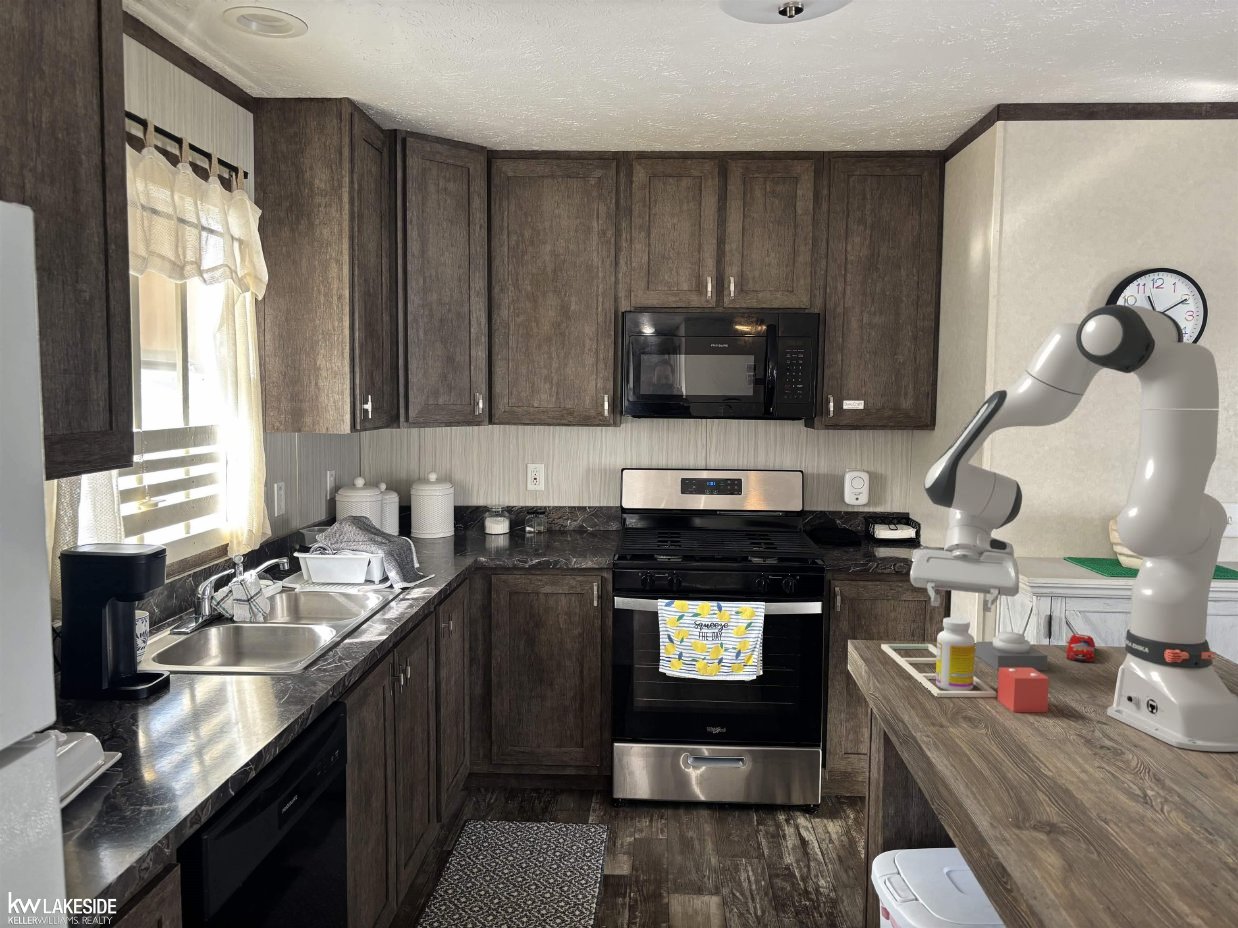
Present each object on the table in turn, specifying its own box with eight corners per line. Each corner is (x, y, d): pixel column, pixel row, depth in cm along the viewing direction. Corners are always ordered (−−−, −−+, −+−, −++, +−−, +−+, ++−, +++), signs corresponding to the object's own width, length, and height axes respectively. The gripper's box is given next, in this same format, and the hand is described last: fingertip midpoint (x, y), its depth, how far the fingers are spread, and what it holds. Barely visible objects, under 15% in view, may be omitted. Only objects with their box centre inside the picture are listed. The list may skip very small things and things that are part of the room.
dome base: (1046, 670, 174) (1047, 655, 174) (997, 670, 174) (998, 655, 173) (1022, 655, 184) (1023, 641, 184) (975, 655, 184) (976, 641, 183)
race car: (1093, 666, 178) (1094, 647, 178) (1064, 662, 181) (1065, 643, 180) (1096, 649, 189) (1097, 631, 189) (1068, 646, 192) (1069, 628, 192)
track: (996, 696, 158) (996, 692, 158) (936, 696, 158) (936, 692, 158) (931, 647, 189) (931, 644, 189) (881, 647, 189) (881, 644, 189)
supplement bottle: (980, 689, 162) (983, 621, 161) (958, 695, 159) (961, 626, 158) (950, 679, 168) (952, 614, 167) (927, 685, 164) (930, 618, 163)
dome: (1036, 653, 175) (1036, 639, 175) (1002, 653, 175) (1002, 639, 175) (1019, 643, 182) (1020, 630, 182) (986, 643, 182) (987, 630, 182)
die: (1047, 711, 151) (1049, 677, 150) (1013, 711, 151) (1014, 677, 150) (1030, 699, 157) (1031, 666, 156) (997, 699, 157) (998, 666, 156)
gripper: (912, 536, 179) (903, 592, 171) (1021, 545, 170) (1017, 604, 162) (915, 554, 183) (906, 609, 175) (1021, 563, 174) (1017, 622, 166)
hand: (960, 607), depth 169 cm, fingers open, 8 cm apart
